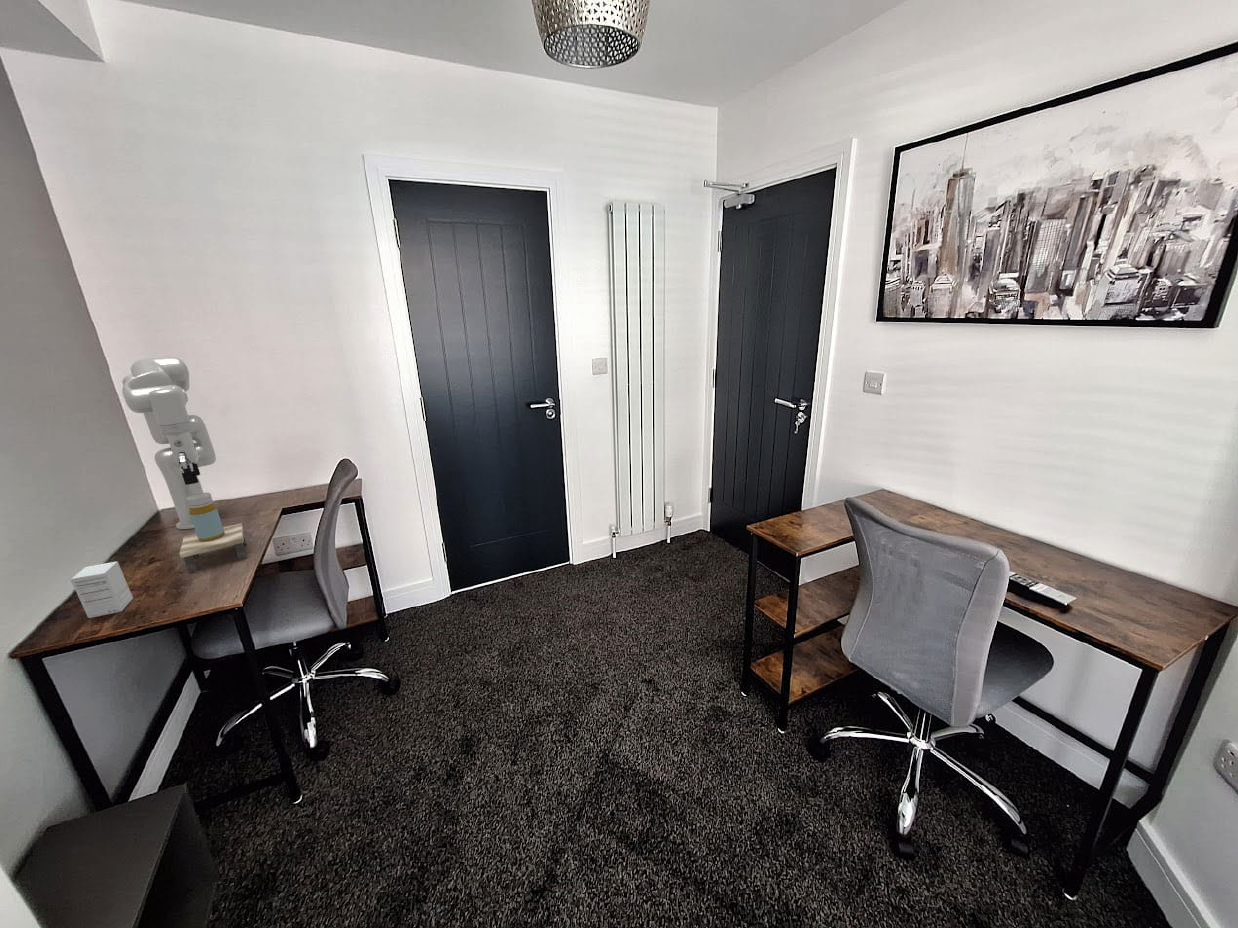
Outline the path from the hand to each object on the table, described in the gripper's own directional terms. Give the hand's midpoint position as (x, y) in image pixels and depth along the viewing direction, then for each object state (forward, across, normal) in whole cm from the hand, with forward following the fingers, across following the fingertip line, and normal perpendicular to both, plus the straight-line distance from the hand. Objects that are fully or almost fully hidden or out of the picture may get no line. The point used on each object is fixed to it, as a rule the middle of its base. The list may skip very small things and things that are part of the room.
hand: (193, 479), depth 157 cm
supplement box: (+28, -18, +24) cm, 41 cm away
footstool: (+28, 0, 0) cm, 28 cm away
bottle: (+21, 0, 0) cm, 21 cm away
